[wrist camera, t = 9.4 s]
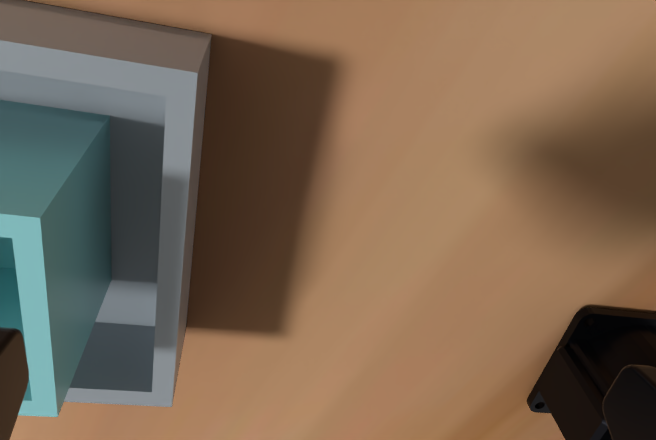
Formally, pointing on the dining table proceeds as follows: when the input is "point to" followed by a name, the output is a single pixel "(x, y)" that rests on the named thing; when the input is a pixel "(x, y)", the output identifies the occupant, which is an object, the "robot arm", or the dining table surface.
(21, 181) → the small crate
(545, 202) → the dining table surface
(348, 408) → the dining table surface
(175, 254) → the big crate
